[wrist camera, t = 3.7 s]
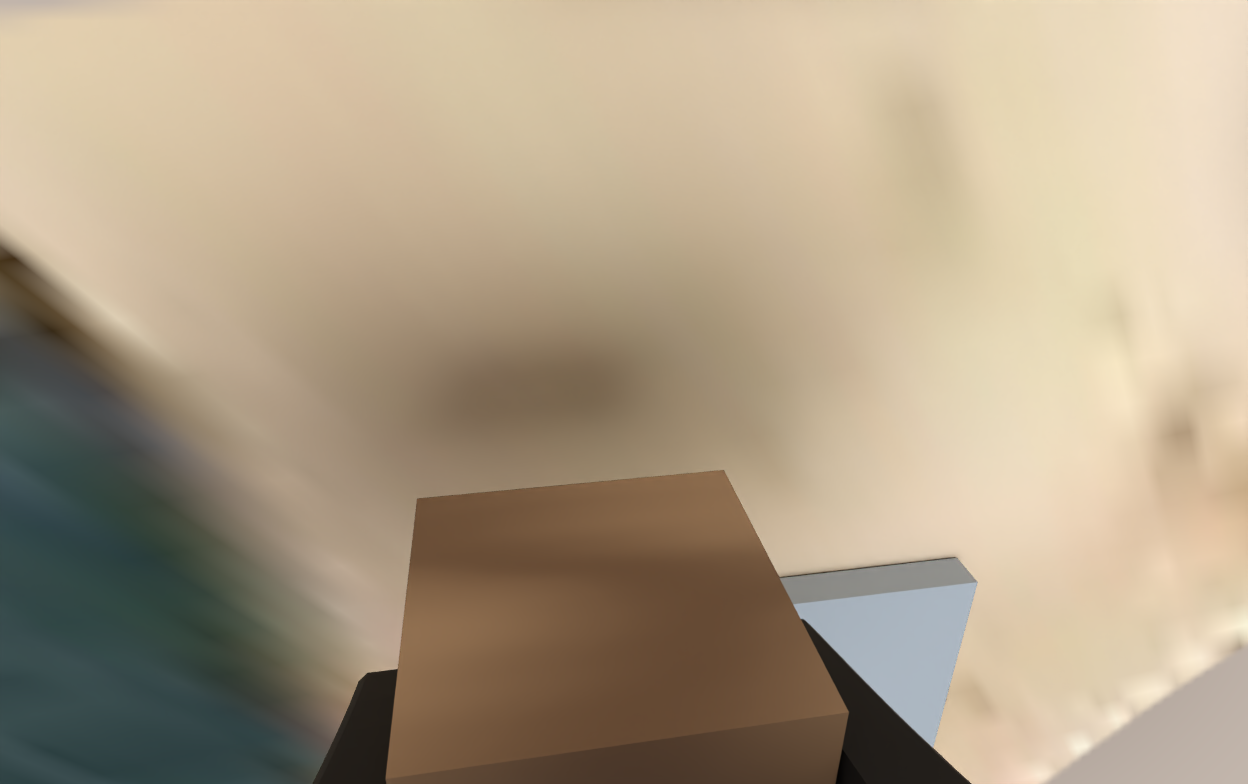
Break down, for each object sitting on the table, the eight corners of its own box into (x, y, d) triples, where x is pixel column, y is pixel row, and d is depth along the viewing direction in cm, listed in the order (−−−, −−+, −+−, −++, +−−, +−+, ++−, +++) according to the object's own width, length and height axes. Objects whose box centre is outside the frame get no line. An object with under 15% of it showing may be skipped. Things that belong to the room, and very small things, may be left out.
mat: (598, 845, 24) (602, 877, 24) (593, 599, 20) (598, 627, 19) (897, 797, 26) (912, 825, 25) (956, 557, 21) (977, 582, 20)
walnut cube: (448, 719, 12) (437, 1032, 8) (416, 498, 10) (385, 779, 6) (707, 685, 12) (801, 962, 9) (724, 470, 10) (848, 712, 7)
